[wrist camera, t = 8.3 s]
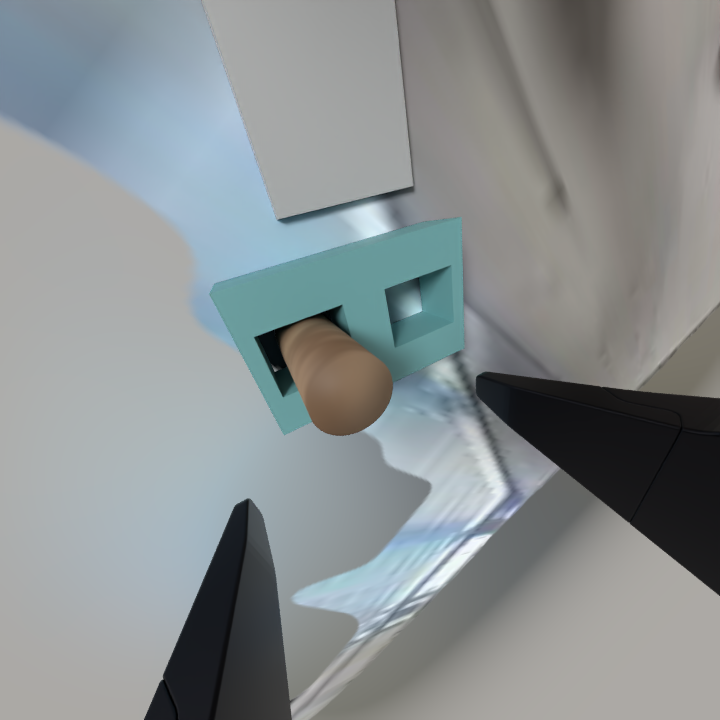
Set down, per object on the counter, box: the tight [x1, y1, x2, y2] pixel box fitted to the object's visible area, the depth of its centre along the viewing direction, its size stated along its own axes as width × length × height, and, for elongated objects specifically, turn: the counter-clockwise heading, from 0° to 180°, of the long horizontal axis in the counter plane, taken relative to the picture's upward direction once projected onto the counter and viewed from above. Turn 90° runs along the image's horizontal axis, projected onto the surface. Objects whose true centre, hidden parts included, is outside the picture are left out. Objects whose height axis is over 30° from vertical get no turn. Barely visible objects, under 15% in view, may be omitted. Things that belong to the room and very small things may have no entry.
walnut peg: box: [275, 313, 393, 436], centre depth 15 cm, size 4×4×10 cm
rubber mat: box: [201, 0, 413, 220], centre depth 15 cm, size 10×10×1 cm
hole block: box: [209, 217, 464, 435], centre depth 19 cm, size 16×10×4 cm, turn 105°
